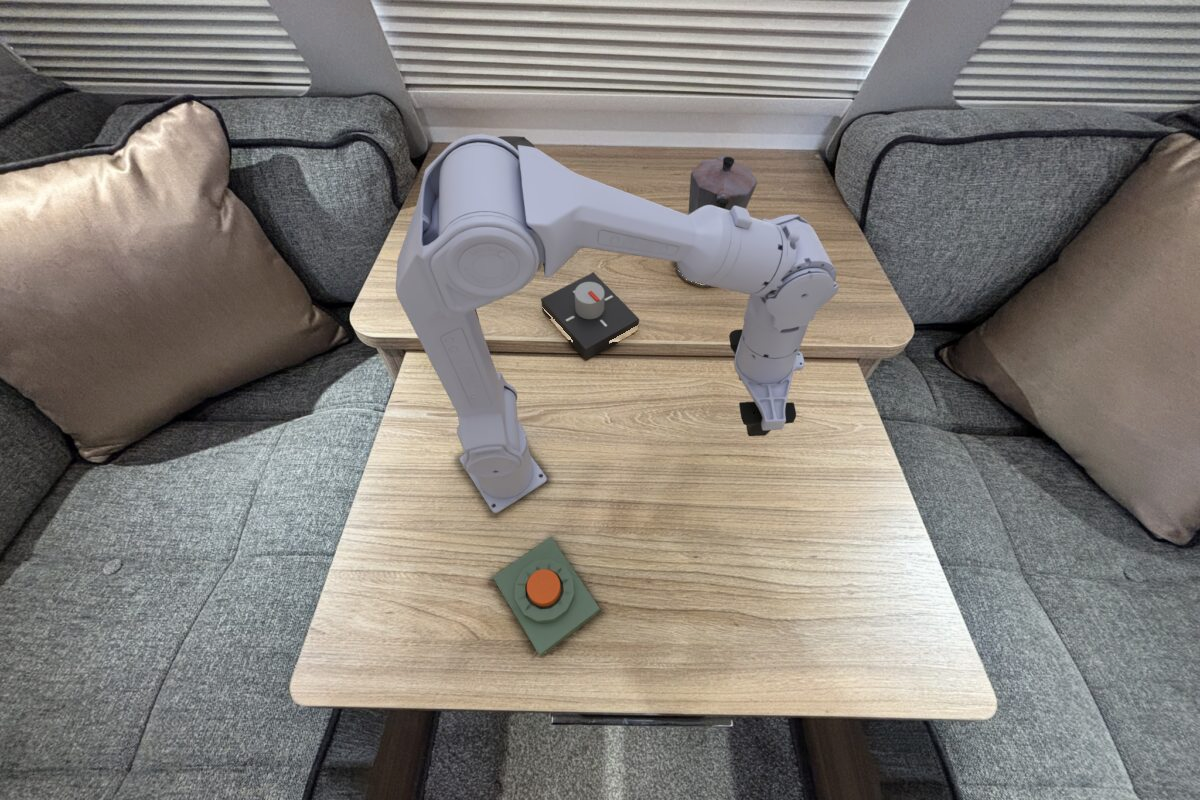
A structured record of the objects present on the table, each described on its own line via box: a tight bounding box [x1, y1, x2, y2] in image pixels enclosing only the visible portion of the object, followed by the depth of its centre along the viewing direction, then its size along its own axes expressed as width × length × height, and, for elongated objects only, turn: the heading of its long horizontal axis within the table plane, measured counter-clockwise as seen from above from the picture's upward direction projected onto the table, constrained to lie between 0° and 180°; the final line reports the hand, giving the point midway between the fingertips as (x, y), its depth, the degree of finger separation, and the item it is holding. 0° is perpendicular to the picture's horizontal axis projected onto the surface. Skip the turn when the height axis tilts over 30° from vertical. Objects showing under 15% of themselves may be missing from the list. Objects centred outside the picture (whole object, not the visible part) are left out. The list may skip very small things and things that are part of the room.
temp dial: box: [575, 282, 605, 319], centre depth 79 cm, size 4×4×4 cm
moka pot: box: [675, 154, 758, 288], centre depth 81 cm, size 10×15×20 cm, turn 174°
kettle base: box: [492, 536, 601, 658], centre depth 60 cm, size 10×8×4 cm
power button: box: [527, 569, 561, 607], centre depth 58 cm, size 4×4×2 cm
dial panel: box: [540, 272, 640, 362], centre depth 82 cm, size 12×10×3 cm
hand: (752, 404), depth 64 cm, fingers open, 7 cm apart
